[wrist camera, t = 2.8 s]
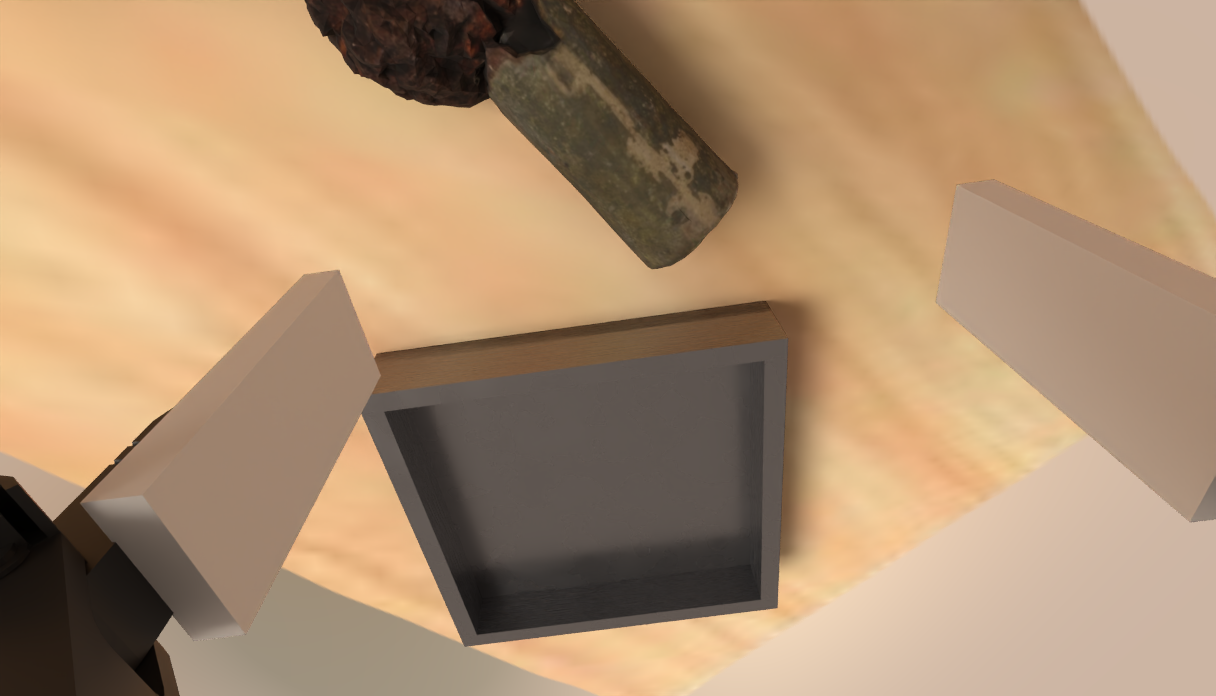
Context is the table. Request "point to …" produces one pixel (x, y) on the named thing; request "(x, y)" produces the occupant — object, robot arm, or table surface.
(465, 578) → the grey square tray
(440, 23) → the metal pipe
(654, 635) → the table surface
